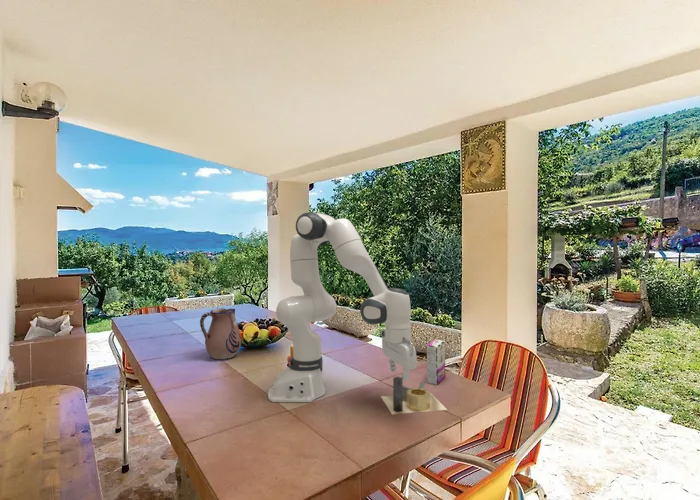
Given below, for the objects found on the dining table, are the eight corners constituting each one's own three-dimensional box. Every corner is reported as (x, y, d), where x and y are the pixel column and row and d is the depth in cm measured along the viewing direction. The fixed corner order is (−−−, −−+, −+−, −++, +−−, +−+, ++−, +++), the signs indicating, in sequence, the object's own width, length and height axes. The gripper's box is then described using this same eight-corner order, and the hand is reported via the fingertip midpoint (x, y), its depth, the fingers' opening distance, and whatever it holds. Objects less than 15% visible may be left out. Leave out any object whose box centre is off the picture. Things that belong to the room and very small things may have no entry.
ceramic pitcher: (248, 355, 195) (247, 308, 195) (214, 366, 178) (214, 315, 177) (226, 350, 205) (226, 306, 205) (192, 360, 187) (192, 311, 187)
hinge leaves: (406, 412, 126) (406, 397, 126) (395, 396, 139) (395, 383, 138) (437, 409, 128) (437, 395, 128) (423, 394, 140) (423, 381, 140)
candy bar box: (434, 375, 166) (434, 339, 166) (445, 377, 163) (445, 340, 163) (426, 383, 156) (426, 344, 156) (437, 385, 154) (437, 346, 153)
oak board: (392, 418, 124) (392, 414, 124) (380, 400, 139) (380, 396, 139) (447, 414, 128) (447, 409, 128) (430, 396, 142) (430, 392, 142)
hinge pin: (394, 412, 126) (394, 380, 126) (392, 408, 129) (392, 376, 129) (403, 411, 126) (403, 379, 126) (400, 407, 130) (400, 376, 129)
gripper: (421, 341, 118) (422, 384, 118) (394, 328, 138) (395, 365, 138) (403, 343, 116) (404, 386, 116) (378, 330, 136) (379, 367, 136)
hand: (399, 375), depth 127 cm, fingers open, 8 cm apart
